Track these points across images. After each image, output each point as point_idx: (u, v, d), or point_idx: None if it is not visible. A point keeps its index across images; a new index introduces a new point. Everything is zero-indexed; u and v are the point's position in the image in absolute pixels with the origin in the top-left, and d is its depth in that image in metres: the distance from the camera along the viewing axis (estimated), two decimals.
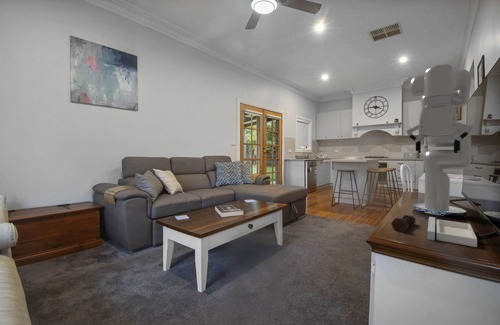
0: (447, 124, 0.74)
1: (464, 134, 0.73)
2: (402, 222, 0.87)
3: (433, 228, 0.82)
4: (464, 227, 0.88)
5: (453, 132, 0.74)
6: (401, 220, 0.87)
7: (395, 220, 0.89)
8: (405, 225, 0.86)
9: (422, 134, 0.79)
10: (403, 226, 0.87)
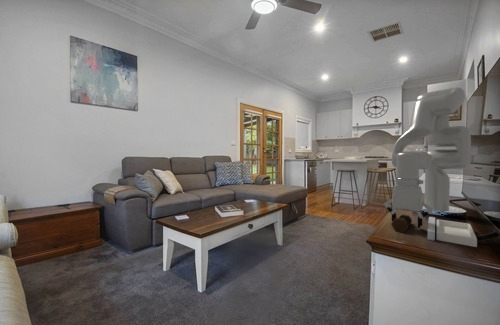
0: (414, 203, 0.89)
1: (425, 213, 0.88)
2: (403, 222, 0.87)
3: (433, 228, 0.82)
4: (464, 227, 0.88)
5: (419, 210, 0.88)
6: (401, 220, 0.87)
7: (395, 220, 0.88)
8: (406, 225, 0.86)
9: (394, 207, 0.93)
10: (403, 226, 0.87)
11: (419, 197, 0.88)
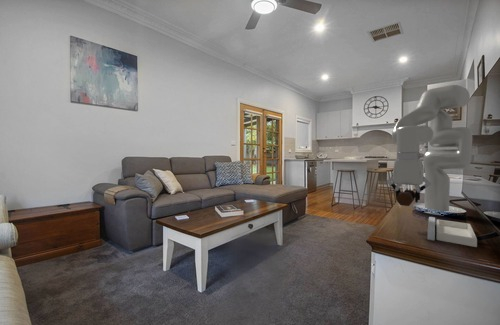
0: (415, 176, 0.88)
1: (422, 187, 0.88)
2: (407, 196, 0.86)
3: (433, 228, 0.82)
4: (464, 227, 0.88)
5: (420, 183, 0.88)
6: (406, 194, 0.86)
7: (400, 194, 0.88)
8: (411, 198, 0.85)
9: (395, 182, 0.93)
10: (408, 200, 0.86)
11: (420, 170, 0.87)
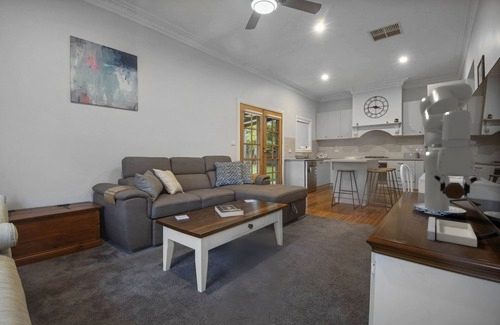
0: (465, 166, 0.79)
1: (474, 179, 0.79)
2: (458, 187, 0.76)
3: (433, 228, 0.82)
4: (464, 227, 0.88)
5: (471, 174, 0.78)
6: (457, 185, 0.77)
7: (449, 186, 0.78)
8: (462, 190, 0.76)
9: (440, 173, 0.83)
10: (459, 192, 0.76)
11: (471, 159, 0.78)
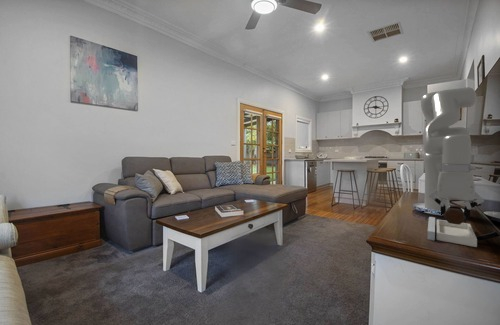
0: (465, 191, 0.79)
1: (474, 204, 0.79)
2: (458, 213, 0.76)
3: (433, 228, 0.82)
4: (464, 227, 0.88)
5: (471, 199, 0.78)
6: (457, 211, 0.77)
7: (449, 211, 0.78)
8: (462, 216, 0.76)
9: (441, 197, 0.84)
10: (459, 218, 0.76)
11: (472, 184, 0.78)
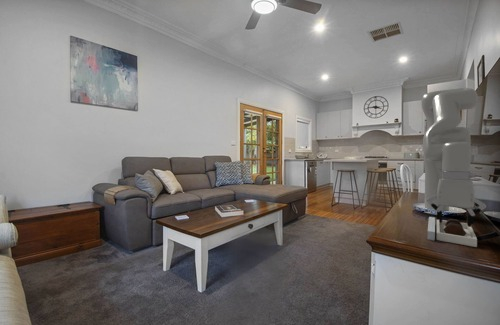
0: (465, 198, 0.79)
1: (477, 210, 0.78)
2: (459, 228, 0.77)
3: (433, 228, 0.82)
4: (464, 227, 0.88)
5: (471, 206, 0.79)
6: (457, 226, 0.77)
7: (449, 226, 0.78)
8: (463, 232, 0.76)
9: (440, 204, 0.84)
10: (460, 233, 0.77)
11: (471, 192, 0.78)
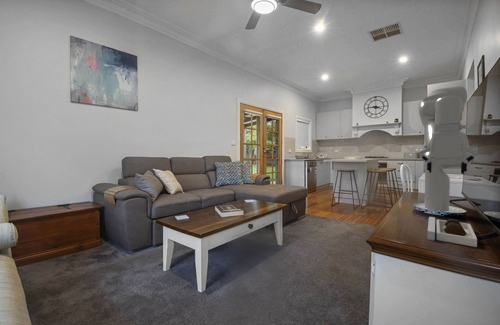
0: (456, 149, 0.85)
1: (470, 158, 0.83)
2: (459, 228, 0.77)
3: (433, 228, 0.82)
4: (464, 227, 0.88)
5: (461, 156, 0.84)
6: (458, 226, 0.77)
7: (450, 226, 0.78)
8: (463, 232, 0.76)
9: (433, 156, 0.89)
10: (460, 233, 0.77)
11: (462, 142, 0.83)
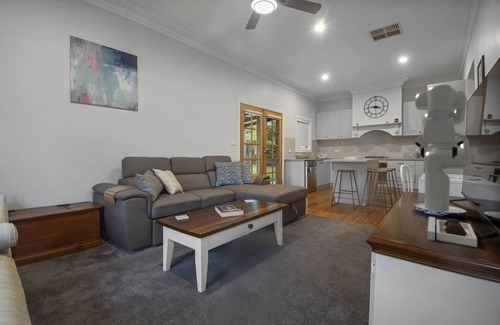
0: (446, 134, 0.90)
1: (460, 142, 0.88)
2: (459, 228, 0.77)
3: (433, 228, 0.82)
4: (464, 227, 0.88)
5: (451, 140, 0.89)
6: (458, 226, 0.77)
7: (450, 226, 0.78)
8: (464, 232, 0.76)
9: (426, 142, 0.94)
10: (460, 233, 0.76)
11: (452, 128, 0.89)
